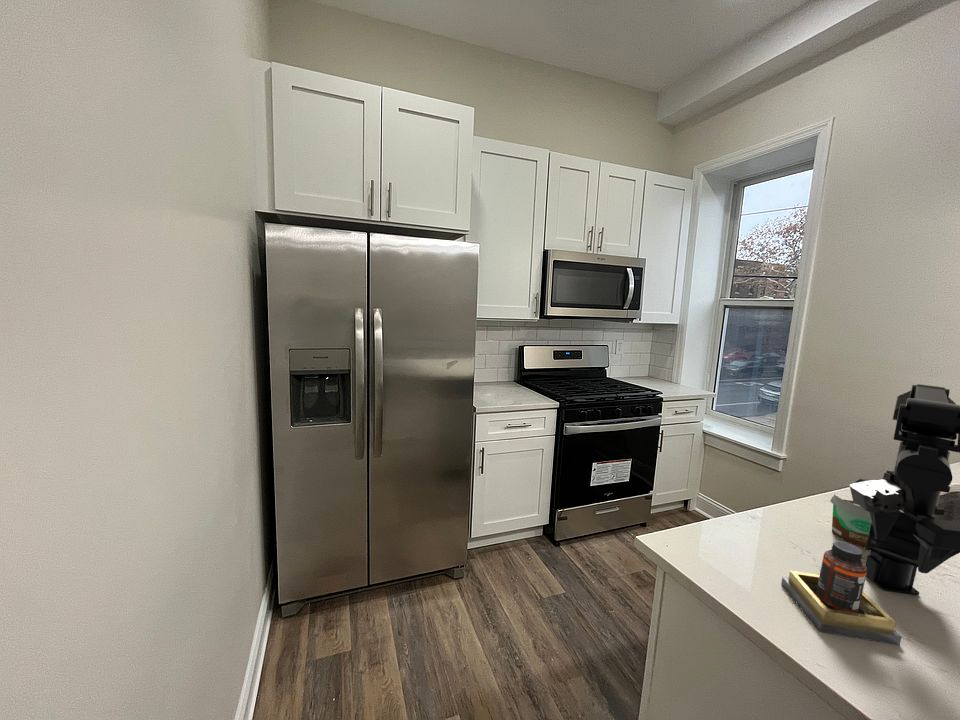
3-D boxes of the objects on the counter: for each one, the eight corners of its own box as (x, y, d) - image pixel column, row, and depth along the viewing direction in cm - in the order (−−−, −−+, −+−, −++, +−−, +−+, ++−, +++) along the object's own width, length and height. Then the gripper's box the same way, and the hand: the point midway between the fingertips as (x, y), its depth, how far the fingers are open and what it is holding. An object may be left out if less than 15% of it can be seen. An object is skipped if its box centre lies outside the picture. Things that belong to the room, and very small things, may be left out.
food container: (835, 543, 96) (842, 505, 94) (824, 530, 101) (831, 493, 100) (902, 557, 91) (911, 517, 90) (887, 542, 97) (895, 505, 95)
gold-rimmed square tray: (848, 593, 79) (851, 577, 78) (899, 645, 67) (904, 626, 66) (781, 583, 81) (784, 567, 80) (819, 631, 69) (823, 613, 68)
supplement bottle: (867, 618, 70) (880, 560, 68) (828, 611, 71) (840, 554, 69) (844, 594, 76) (855, 540, 74) (808, 588, 77) (818, 535, 75)
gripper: (829, 448, 79) (815, 520, 81) (909, 492, 60) (888, 583, 63) (895, 454, 76) (879, 528, 79) (998, 502, 58) (973, 596, 61)
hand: (899, 555), depth 70 cm, fingers open, 9 cm apart
